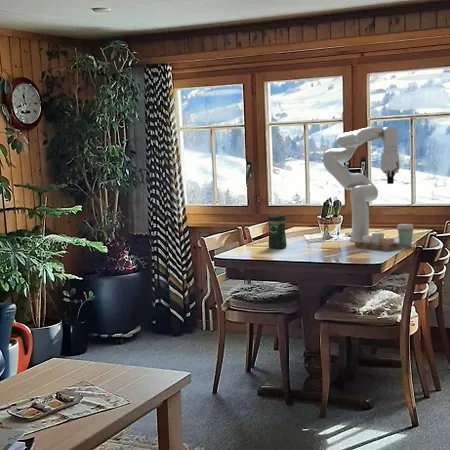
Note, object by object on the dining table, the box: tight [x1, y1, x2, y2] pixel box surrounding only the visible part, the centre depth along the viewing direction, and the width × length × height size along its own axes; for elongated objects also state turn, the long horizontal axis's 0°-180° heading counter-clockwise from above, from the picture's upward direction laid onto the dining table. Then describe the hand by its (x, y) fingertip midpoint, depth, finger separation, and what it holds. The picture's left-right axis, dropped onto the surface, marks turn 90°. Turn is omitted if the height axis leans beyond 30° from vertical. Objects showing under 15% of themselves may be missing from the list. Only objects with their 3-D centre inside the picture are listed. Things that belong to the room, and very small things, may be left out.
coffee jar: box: [267, 213, 287, 250], centre depth 366 cm, size 10×8×19 cm
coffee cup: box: [396, 223, 414, 249], centre depth 357 cm, size 8×8×12 cm
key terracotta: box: [382, 237, 395, 245], centre depth 350 cm, size 4×4×5 cm
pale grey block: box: [362, 234, 372, 242], centre depth 362 cm, size 4×4×5 cm
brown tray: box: [354, 240, 403, 252], centre depth 356 cm, size 22×12×3 cm, turn 33°
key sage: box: [371, 232, 385, 243], centre depth 356 cm, size 4×4×5 cm
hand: (390, 183), depth 364 cm, fingers closed
